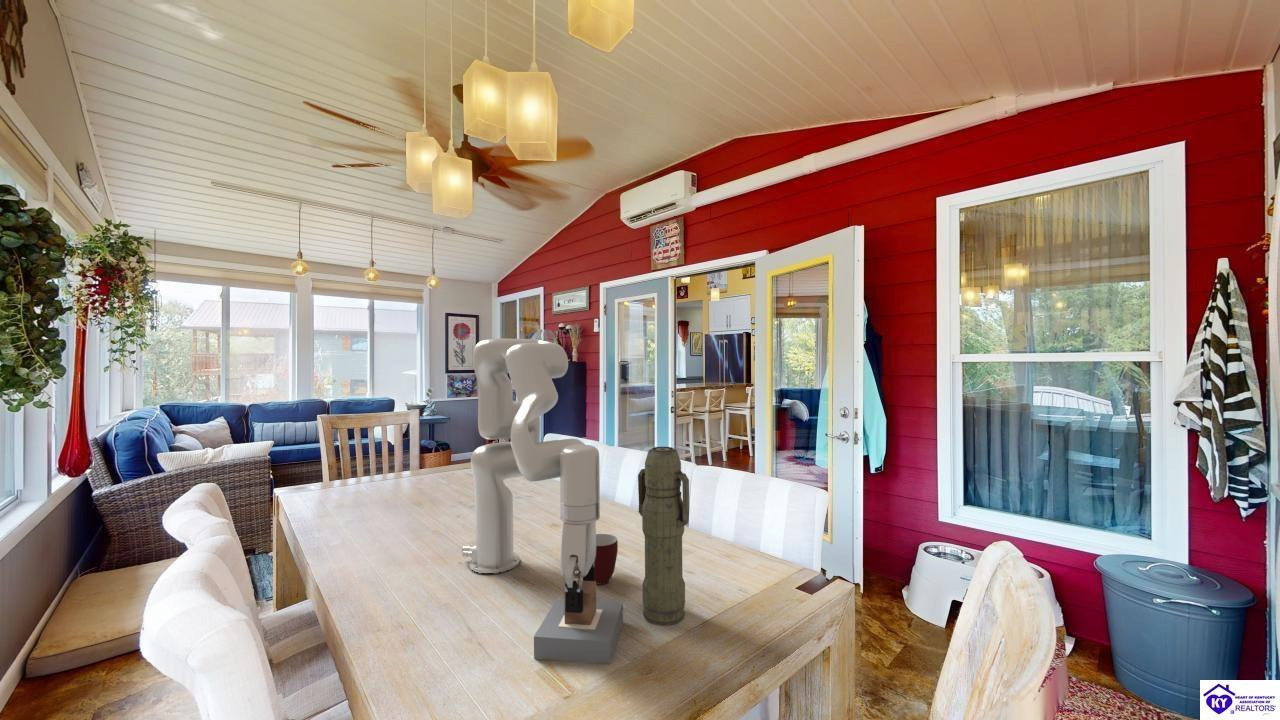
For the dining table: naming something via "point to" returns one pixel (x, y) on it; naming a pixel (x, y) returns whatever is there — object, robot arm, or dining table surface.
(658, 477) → the thermos
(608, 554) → the mug
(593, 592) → the walnut block
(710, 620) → the dining table surface
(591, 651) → the slate pedestal
